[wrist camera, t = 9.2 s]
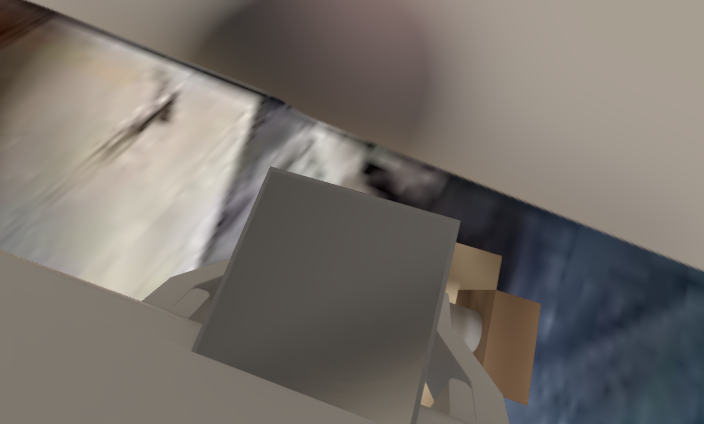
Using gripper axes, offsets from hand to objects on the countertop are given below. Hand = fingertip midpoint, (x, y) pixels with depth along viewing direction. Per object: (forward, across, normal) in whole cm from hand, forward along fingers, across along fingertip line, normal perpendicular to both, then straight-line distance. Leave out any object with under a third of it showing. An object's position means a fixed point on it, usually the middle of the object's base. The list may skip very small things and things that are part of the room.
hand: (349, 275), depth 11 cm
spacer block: (+4, 0, +5) cm, 7 cm away
